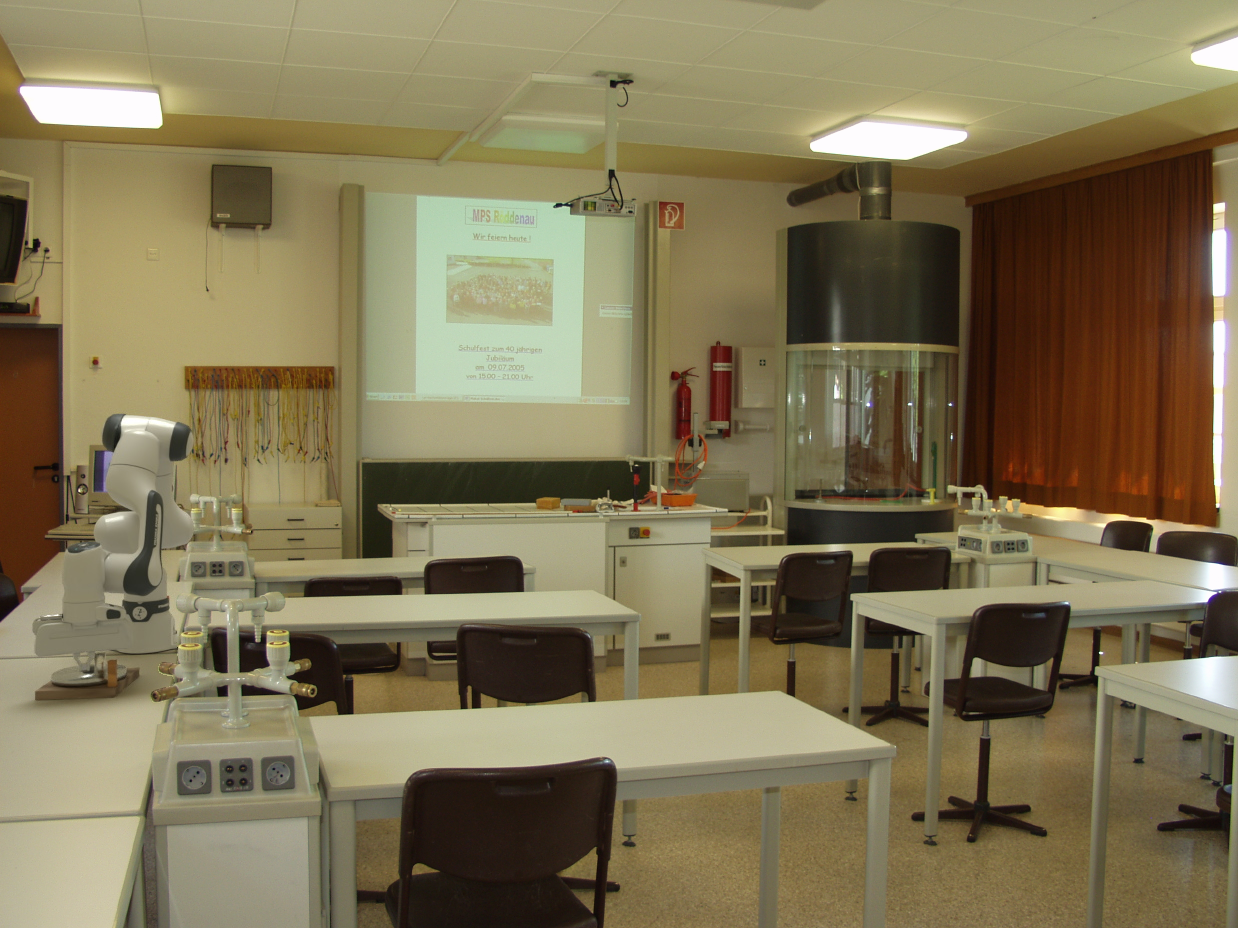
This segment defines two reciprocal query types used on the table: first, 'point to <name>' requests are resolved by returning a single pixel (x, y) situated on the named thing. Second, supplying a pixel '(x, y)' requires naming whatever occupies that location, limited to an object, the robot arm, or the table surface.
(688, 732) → the table surface
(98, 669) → the dial
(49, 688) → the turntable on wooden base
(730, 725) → the table surface
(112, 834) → the table surface
